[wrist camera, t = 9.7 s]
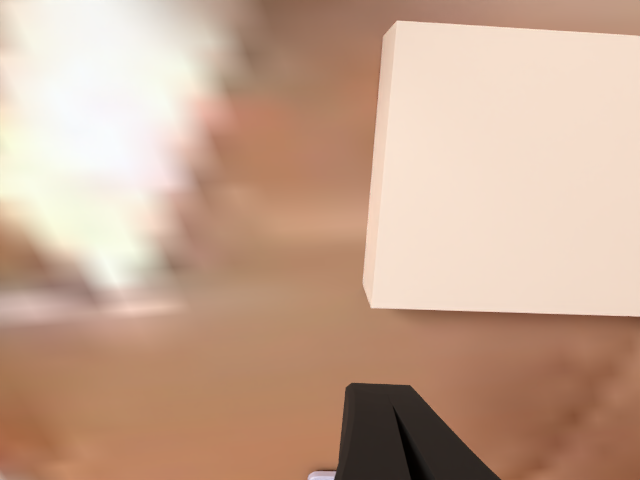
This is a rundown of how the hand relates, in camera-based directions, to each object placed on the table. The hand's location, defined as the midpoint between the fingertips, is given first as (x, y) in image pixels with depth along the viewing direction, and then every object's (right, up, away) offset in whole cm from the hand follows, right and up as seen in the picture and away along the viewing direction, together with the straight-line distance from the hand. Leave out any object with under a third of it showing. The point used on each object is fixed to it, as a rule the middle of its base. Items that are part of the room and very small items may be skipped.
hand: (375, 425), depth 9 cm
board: (+7, +6, +9) cm, 13 cm away
